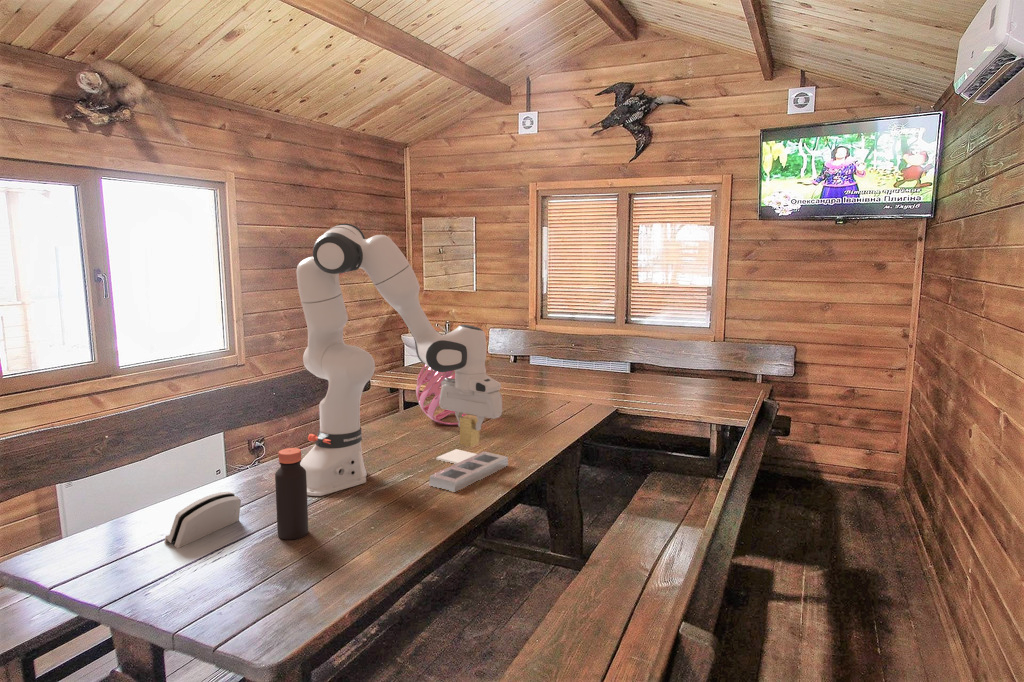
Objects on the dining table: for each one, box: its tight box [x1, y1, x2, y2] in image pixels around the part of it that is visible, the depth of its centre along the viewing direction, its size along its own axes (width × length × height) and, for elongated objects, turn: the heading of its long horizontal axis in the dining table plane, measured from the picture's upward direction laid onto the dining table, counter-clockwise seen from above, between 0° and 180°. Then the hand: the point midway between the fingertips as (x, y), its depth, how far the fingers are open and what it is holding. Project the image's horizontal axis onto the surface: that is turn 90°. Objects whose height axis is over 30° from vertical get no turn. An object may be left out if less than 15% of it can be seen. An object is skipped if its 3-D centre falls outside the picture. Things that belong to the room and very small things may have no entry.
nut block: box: [459, 414, 480, 448], centre depth 188 cm, size 4×4×8 cm
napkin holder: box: [164, 491, 242, 549], centre depth 150 cm, size 17×5×10 cm, turn 153°
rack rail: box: [429, 451, 509, 493], centre depth 189 cm, size 26×9×3 cm, turn 147°
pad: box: [435, 448, 478, 465], centre depth 204 cm, size 10×10×1 cm
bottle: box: [274, 447, 309, 541], centre depth 149 cm, size 7×7×20 cm
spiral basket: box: [415, 364, 476, 426], centre depth 245 cm, size 28×28×27 cm
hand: (469, 428), depth 187 cm, fingers closed on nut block, 4 cm apart
